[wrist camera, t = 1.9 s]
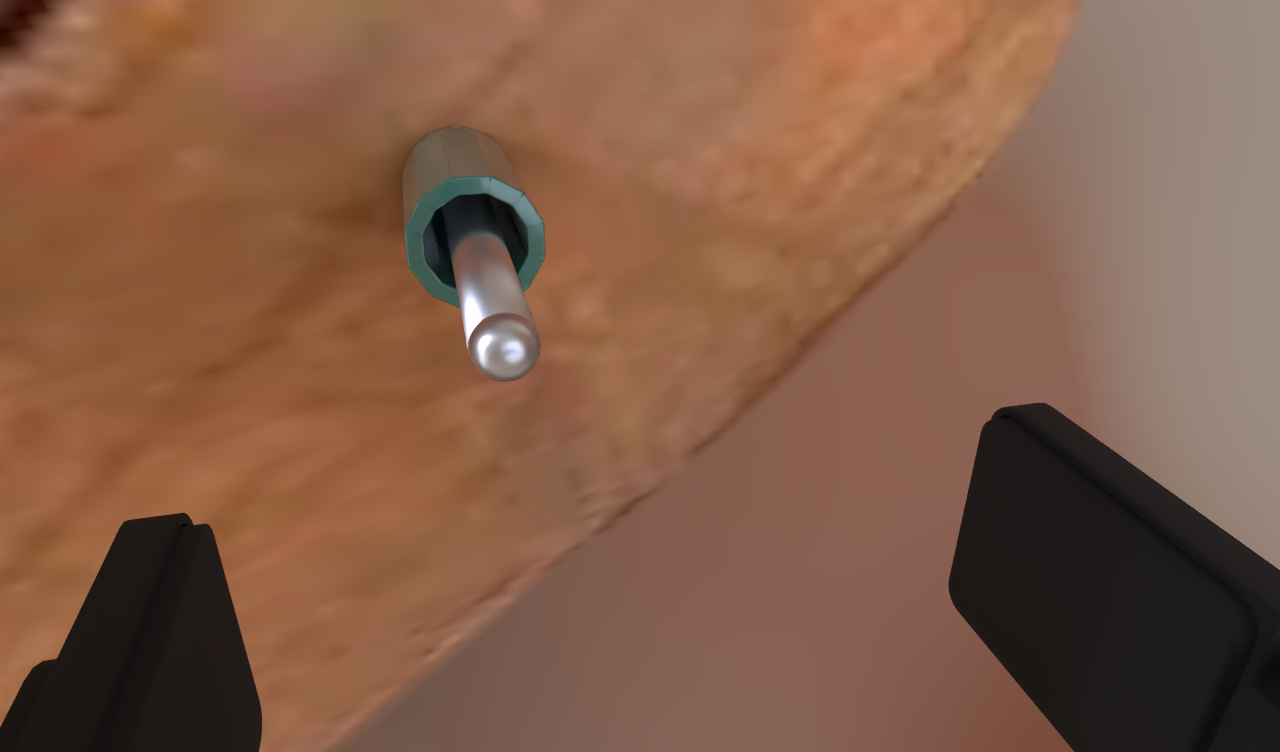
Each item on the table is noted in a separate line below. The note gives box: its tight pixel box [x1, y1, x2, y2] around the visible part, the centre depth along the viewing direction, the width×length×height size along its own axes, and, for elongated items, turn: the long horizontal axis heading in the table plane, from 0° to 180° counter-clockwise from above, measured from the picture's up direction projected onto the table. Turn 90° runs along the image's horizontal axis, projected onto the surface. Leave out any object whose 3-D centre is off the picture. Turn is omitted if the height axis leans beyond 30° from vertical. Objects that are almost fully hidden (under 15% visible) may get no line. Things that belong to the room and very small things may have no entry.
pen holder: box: [402, 127, 546, 308], centre depth 27 cm, size 4×4×7 cm
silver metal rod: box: [442, 194, 541, 382], centre depth 23 cm, size 2×2×14 cm
